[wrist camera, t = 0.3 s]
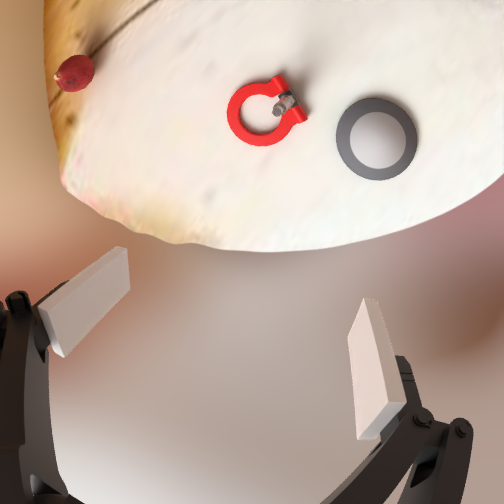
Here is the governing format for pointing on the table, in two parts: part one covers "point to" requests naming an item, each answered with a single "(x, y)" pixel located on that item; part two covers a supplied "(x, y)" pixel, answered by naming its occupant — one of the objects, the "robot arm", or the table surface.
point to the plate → (376, 139)
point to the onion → (75, 73)
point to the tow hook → (284, 107)
